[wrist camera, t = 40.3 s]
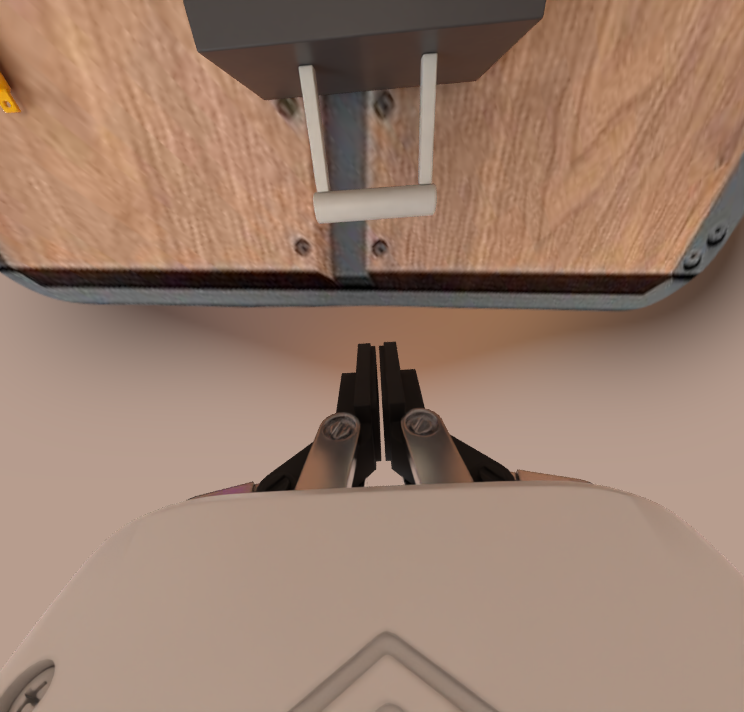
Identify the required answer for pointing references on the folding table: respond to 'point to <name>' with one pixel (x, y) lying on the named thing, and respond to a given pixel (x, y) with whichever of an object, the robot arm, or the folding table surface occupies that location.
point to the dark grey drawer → (359, 67)
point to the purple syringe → (7, 97)
